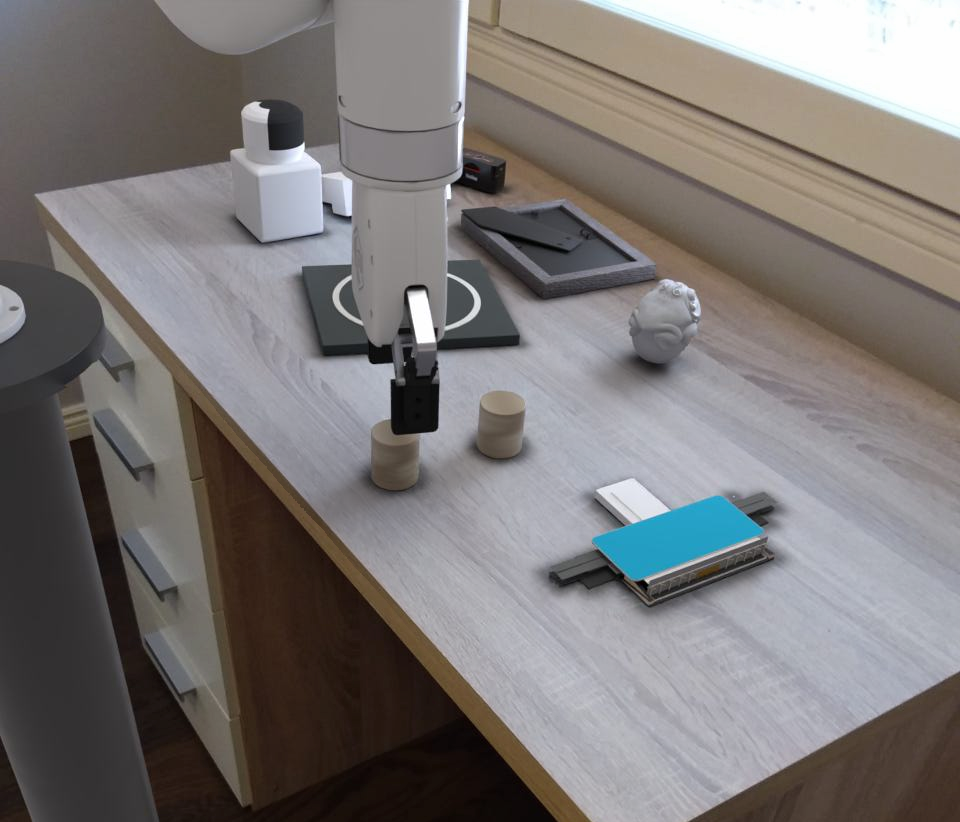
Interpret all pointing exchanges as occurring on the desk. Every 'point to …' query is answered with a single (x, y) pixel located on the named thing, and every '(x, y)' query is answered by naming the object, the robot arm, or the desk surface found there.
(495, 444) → the beige cylinder
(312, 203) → the security camera
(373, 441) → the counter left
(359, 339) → the slate board
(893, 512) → the desk surface
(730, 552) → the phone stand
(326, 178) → the bracket
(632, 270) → the picture frame
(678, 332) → the frog figurine
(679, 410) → the desk surface
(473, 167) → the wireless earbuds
